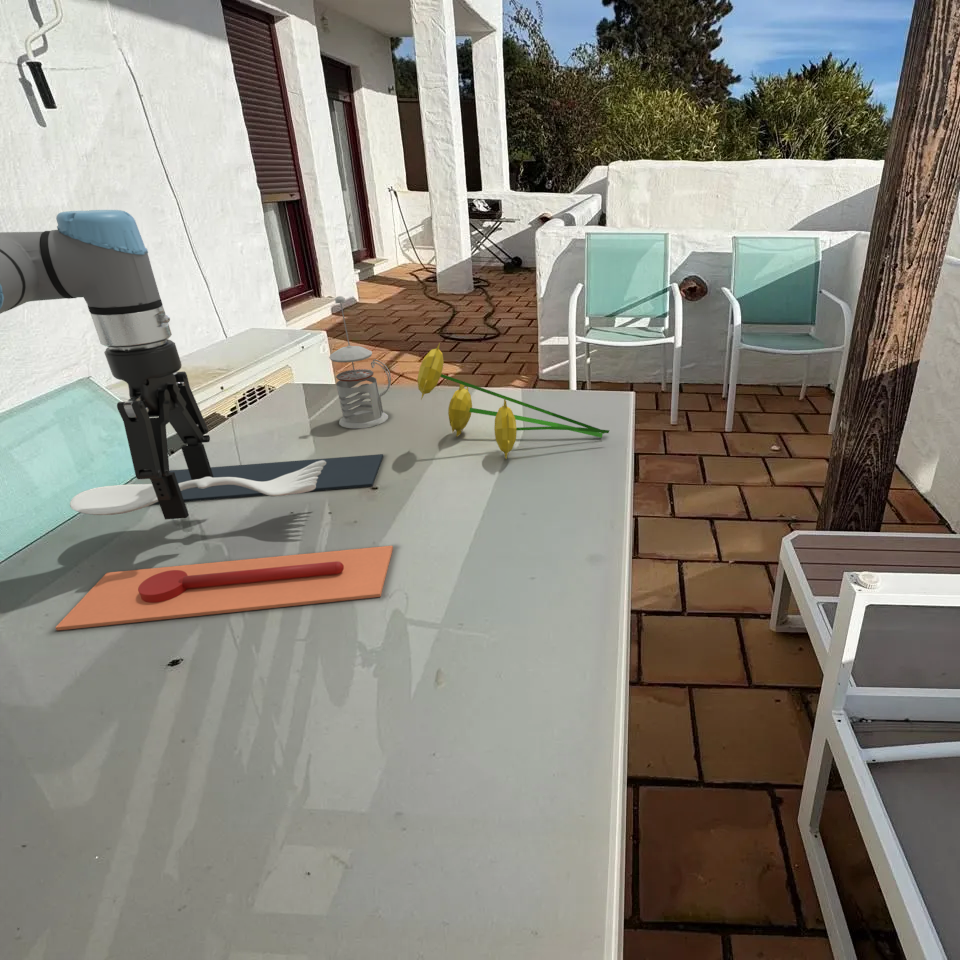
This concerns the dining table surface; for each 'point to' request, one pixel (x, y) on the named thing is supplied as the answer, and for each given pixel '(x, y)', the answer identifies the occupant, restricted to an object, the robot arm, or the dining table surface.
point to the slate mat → (332, 475)
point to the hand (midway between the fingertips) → (191, 500)
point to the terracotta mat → (232, 589)
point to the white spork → (143, 495)
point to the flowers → (504, 417)
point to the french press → (368, 410)
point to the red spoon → (226, 579)
